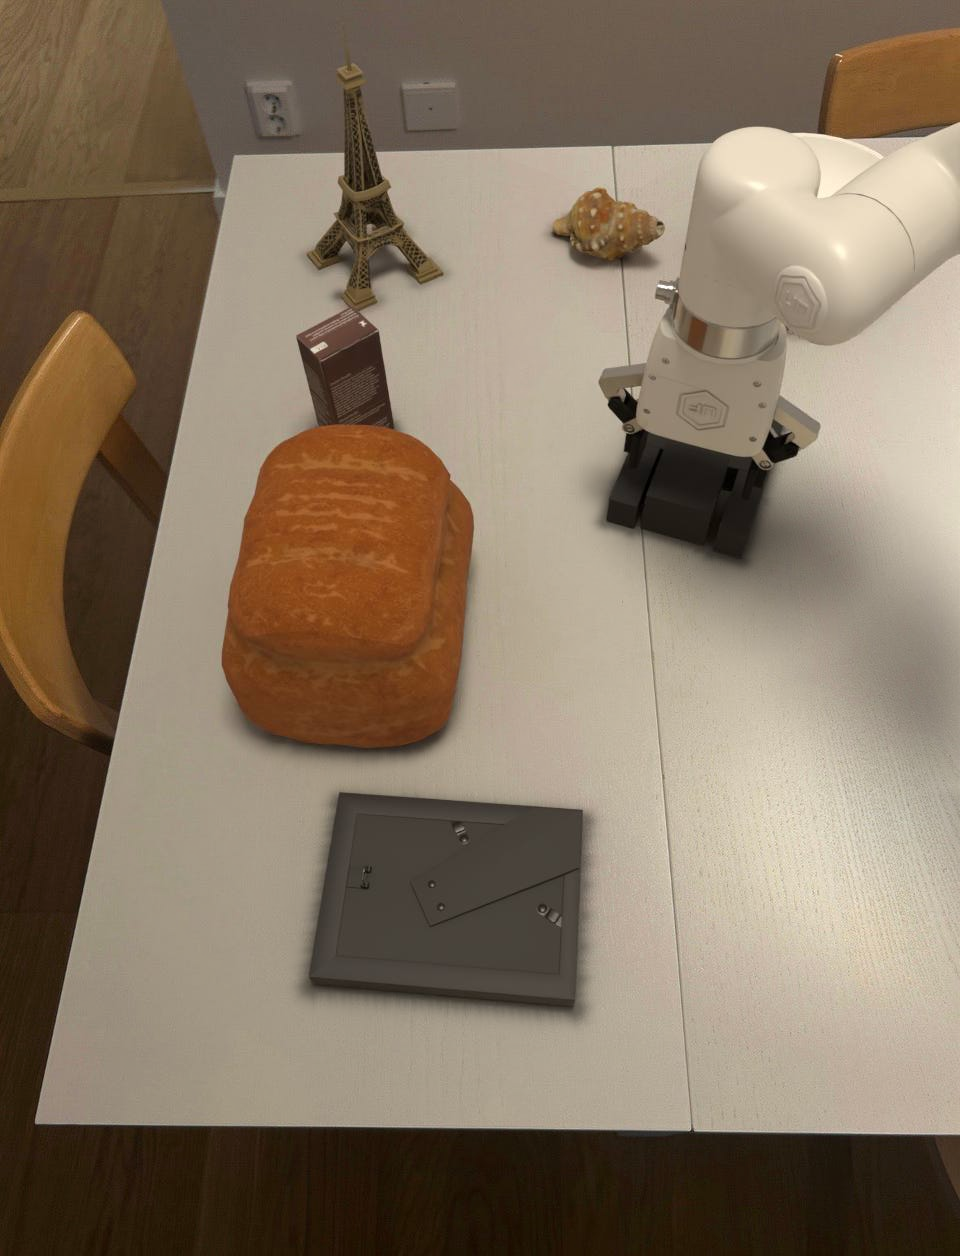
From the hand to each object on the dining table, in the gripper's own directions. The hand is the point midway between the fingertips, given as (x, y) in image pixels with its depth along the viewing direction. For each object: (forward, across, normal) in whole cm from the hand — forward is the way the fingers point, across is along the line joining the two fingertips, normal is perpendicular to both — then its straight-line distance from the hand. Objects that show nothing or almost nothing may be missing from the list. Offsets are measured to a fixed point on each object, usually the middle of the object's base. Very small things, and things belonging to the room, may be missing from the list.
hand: (692, 472), depth 89 cm
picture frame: (+5, -6, -40) cm, 40 cm away
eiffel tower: (+5, -39, +20) cm, 44 cm away
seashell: (+5, -17, +32) cm, 36 cm away
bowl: (+5, +2, +34) cm, 34 cm away
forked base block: (+5, 0, +4) cm, 7 cm away
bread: (+5, -21, -22) cm, 31 cm away
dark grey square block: (+5, 0, 0) cm, 5 cm away
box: (+5, -31, -2) cm, 31 cm away
